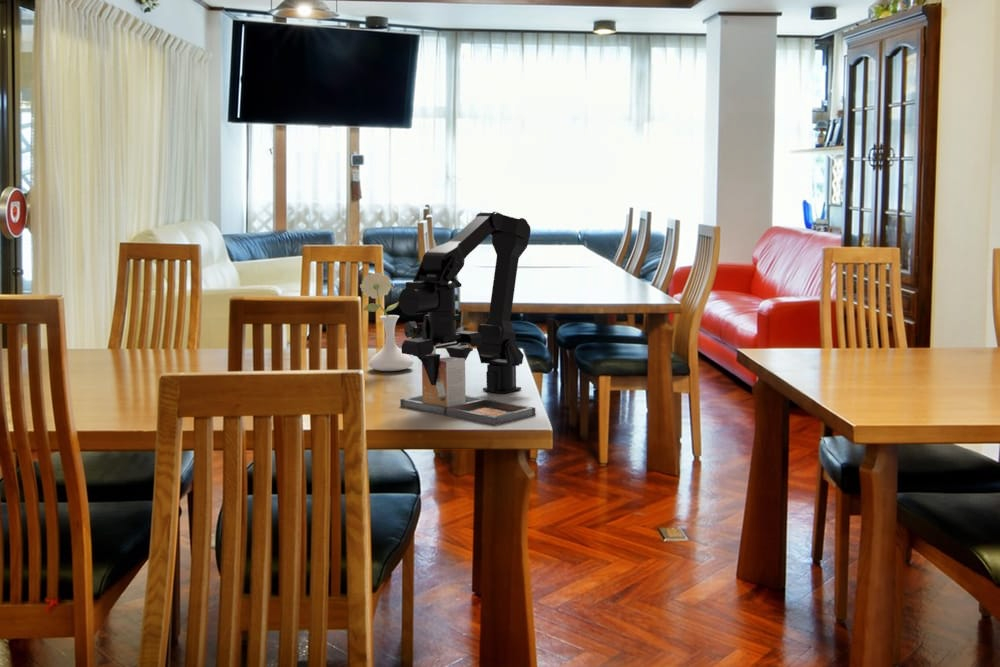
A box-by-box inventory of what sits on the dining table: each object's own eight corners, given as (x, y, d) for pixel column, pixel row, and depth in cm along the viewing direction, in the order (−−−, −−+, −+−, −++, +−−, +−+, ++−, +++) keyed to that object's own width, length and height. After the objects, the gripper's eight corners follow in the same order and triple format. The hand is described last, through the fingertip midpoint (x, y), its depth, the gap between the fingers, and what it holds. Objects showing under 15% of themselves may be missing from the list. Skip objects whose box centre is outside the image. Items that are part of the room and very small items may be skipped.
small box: (422, 405, 232) (420, 357, 231) (441, 401, 236) (440, 353, 234) (446, 410, 226) (445, 361, 225) (466, 406, 230) (465, 357, 229)
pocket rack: (441, 397, 240) (441, 390, 240) (535, 414, 221) (535, 407, 221) (400, 406, 232) (400, 399, 232) (494, 425, 213) (494, 417, 212)
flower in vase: (417, 366, 281) (414, 269, 277) (409, 374, 269) (406, 273, 266) (367, 366, 282) (364, 270, 278) (357, 374, 271) (354, 274, 267)
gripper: (447, 303, 240) (449, 372, 243) (383, 311, 227) (385, 385, 229) (483, 306, 233) (484, 378, 235) (418, 316, 219) (420, 391, 222)
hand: (443, 383), depth 230 cm, fingers closed on small box, 6 cm apart
